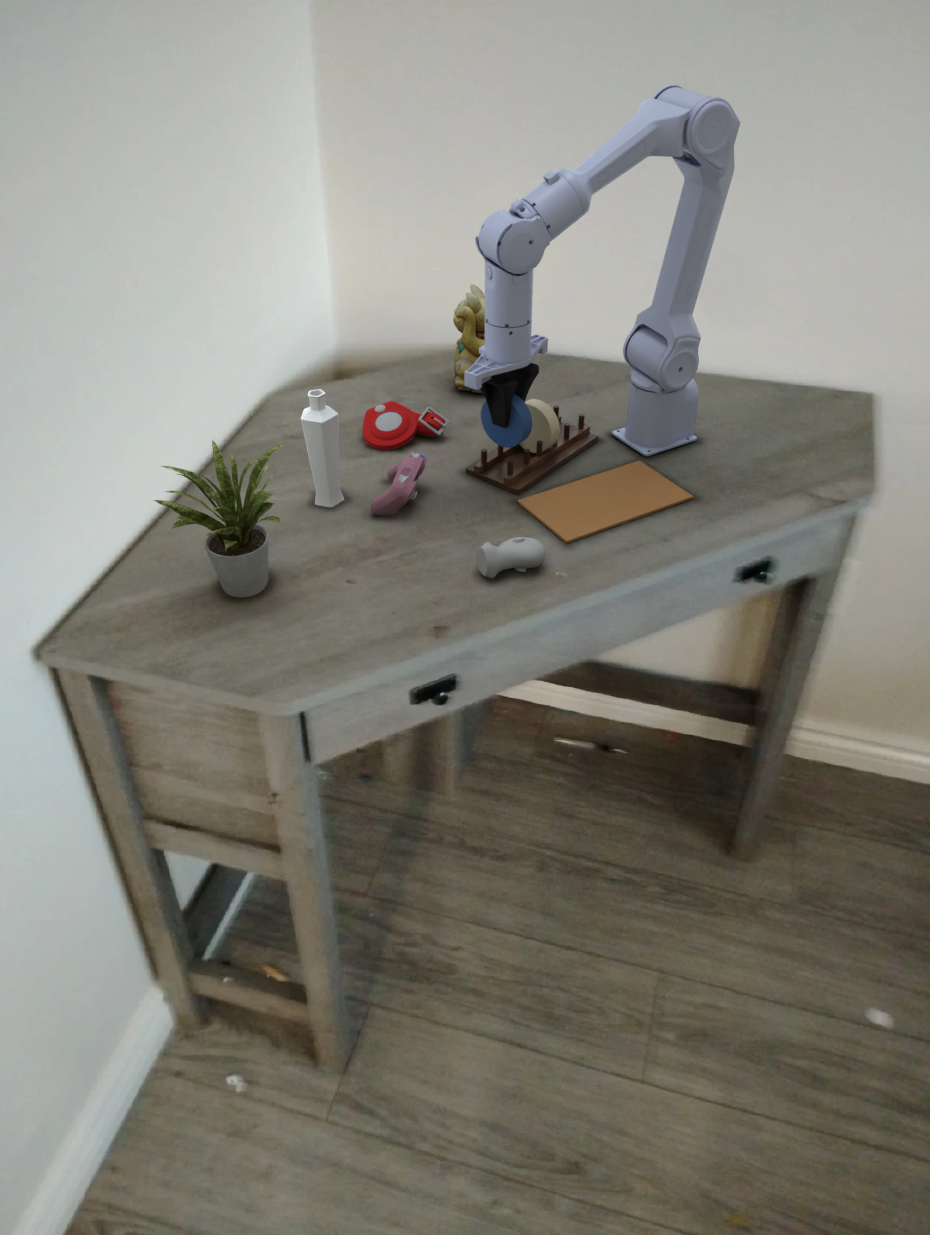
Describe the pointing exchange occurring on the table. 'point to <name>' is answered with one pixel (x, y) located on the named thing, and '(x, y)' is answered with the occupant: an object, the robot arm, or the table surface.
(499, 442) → the blue disc
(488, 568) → the smooth white sculpture
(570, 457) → the rack
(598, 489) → the mat
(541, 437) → the cream disc
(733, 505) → the table surface
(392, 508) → the video game controller
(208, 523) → the house plant
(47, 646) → the table surface
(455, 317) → the decorative figurine
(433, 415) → the tracker holder
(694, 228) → the robot arm
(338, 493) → the white faceted vase
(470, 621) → the table surface
